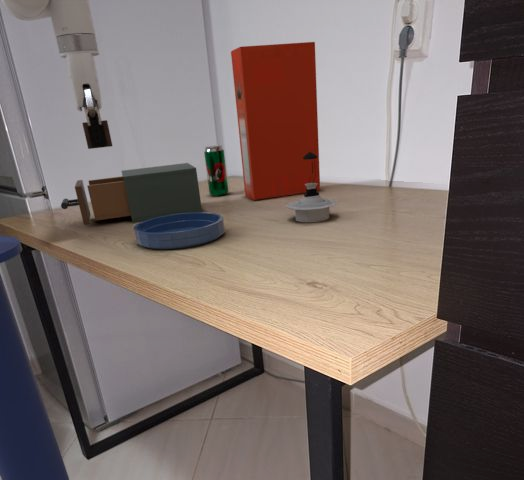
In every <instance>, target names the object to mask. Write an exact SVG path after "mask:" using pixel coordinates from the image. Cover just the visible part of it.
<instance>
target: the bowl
mask: <svg viewBox="0 0 524 480" xmlns="http://www.w3.org/2000/svg"><path fill="white" fill-rule="evenodd" d="M225 228H226V227H225V219H224V216H223V215H221V214H219V213H215V212H208V211H207V212H205V211H202V212H192V213H180V214H172V215H166V216H160V217H156V218H152V219H149V220H144V221H139V222H138V223H136V224H135V225H134V226H133V232H134V236H135V237H134V238H135V242H136V245H137V244H138V245H139V246H140V247H144V248H147V249H150V250H151V249H152V250H177V249H186V248H192V247H197V246H202V245H204V244H208V243H210V242H213V241H215V240H217V239H218V238H220V237H221V236H222V235H224V234H225V231H226V229H225Z"/></svg>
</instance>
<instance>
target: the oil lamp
mask: <svg viewBox="0 0 524 480" xmlns="http://www.w3.org/2000/svg"><path fill="white" fill-rule="evenodd" d="M316 158H317V155H315V154H313V153H311V152H310V151H309V153H307V154H306V155H305V156H304V157H303V159H316ZM312 164H313V162H312ZM314 165H315V160H314ZM312 174H313V165H312ZM311 177H312V176H311ZM311 177H310V178H311ZM315 177H316V172H315ZM314 179H315V178H314ZM314 179H313V180H314ZM309 182H310V180H309ZM317 184H318V183H307V184H305V186H306V187H307V189H306V191H307V192H306V193H303V197H302V198H301V199H299V200H296V201H292V202H290V203H288V204H286V209H289V210H294V213H295V214H294V215H295V221H297V222H300V223H316V222H323V221H327V220H328V219H330V207H334V206H337V205H338V204H339V202H338V200H334V199H329V198H323V197H321V195H320V192H319V191H317V188H316V186H317Z"/></svg>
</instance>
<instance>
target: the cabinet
mask: <svg viewBox="0 0 524 480" xmlns="http://www.w3.org/2000/svg"><path fill="white" fill-rule="evenodd" d="M121 176H123V178H124V182H125V187H126V192H127V197H128V202H129V207H130V212H131V216H130V218H131V222H132V223H137V222H143V221H146V220H149V219H152V218H156V217H160V216H166V215H172V214H180V213H192V212H203V209H202V200H201V194H200V193H201V192H200V186H199V179H198V171H197V167H195V166H194V165H192V164H191V163H189V162H184V163H183V162H182V163H175V164H167V165H158V166H157V165H156V166H152V167H141V168H134V169H125V170H121Z"/></svg>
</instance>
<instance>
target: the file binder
mask: <svg viewBox="0 0 524 480" xmlns="http://www.w3.org/2000/svg"><path fill="white" fill-rule="evenodd" d="M230 56H231V57H230V58H231V65H232V77H233V87H234V97H235V106H236V107H235V108H236V117H237V127H238V136H239V145H240V146H239V147H240V156H241V166H242V167H241V168H242V175H243V176H242V177H243V187H244V195H245V198H248V199H250V200H252V201H260V200H266V199H272V198H280V197H286V196H293V195H301V194H306V192H307V191H306V189H307V187H306V186H305V184H307V183H318V184H317V186H316V188H317V192H320V191H321V176H320V172H321V171H320V147H319V121H318V120H319V118H318V117H319V116H318V91H317V63H316V41H307V42H292V43H277V44H262V45H261V44H260V45H259V44H258V45H243V46H239V47H237V48H235V49H233V50H231V51H230ZM309 151H310V152H311V153H313V154H315V155H317V158H316V159H303V157H304V156H305V155H306V154H307V153H309ZM314 160H315V165H314ZM312 162H313V164H312ZM312 165H313V174H312ZM315 172H316V177H315ZM311 176H312V177H311ZM310 177H311V178H310ZM314 178H315V179H314ZM313 179H314V180H313ZM309 180H310V182H309Z"/></svg>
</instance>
